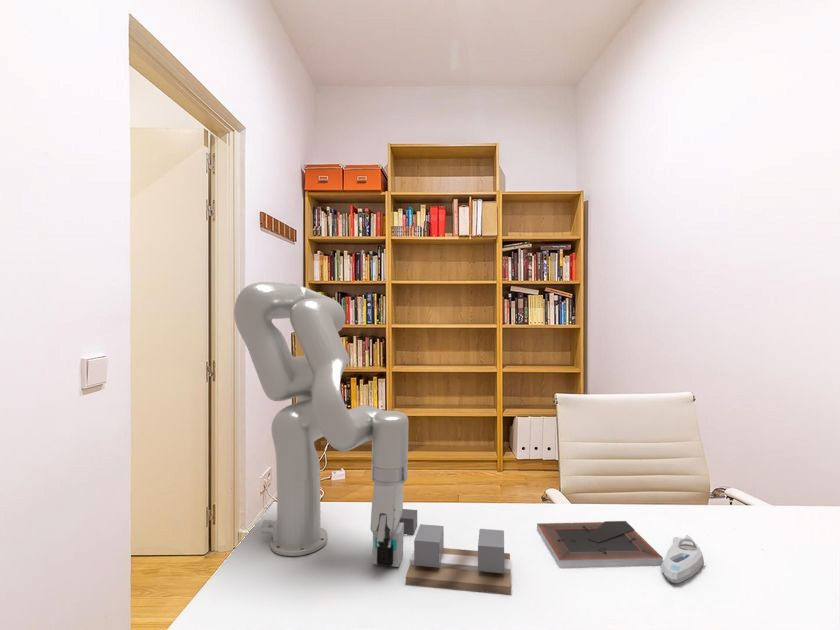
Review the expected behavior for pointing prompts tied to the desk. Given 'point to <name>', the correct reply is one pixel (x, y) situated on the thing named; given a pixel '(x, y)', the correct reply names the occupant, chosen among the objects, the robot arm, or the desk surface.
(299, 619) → the desk surface
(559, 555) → the picture frame
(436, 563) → the mounted modules
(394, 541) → the block
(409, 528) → the grey rectangular block
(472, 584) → the rail board
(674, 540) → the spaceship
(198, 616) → the desk surface
